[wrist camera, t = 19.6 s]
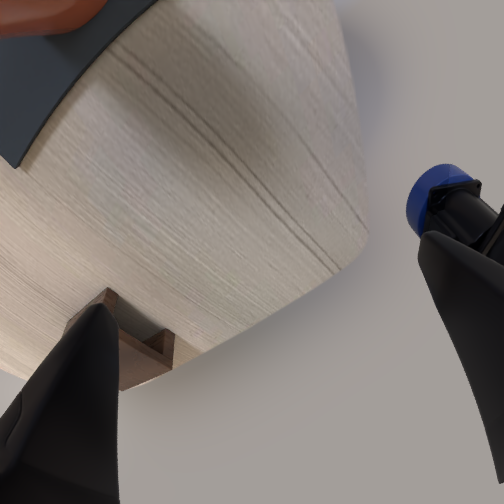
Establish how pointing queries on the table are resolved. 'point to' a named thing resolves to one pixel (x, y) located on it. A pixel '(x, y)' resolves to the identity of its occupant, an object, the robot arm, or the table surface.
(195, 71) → the table surface
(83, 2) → the cup
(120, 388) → the brown square slab
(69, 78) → the desk mat
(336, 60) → the table surface
